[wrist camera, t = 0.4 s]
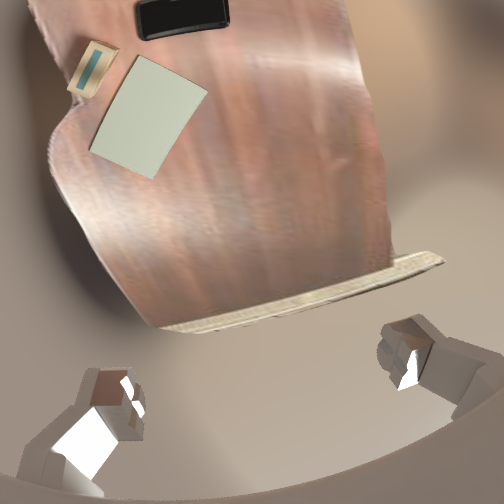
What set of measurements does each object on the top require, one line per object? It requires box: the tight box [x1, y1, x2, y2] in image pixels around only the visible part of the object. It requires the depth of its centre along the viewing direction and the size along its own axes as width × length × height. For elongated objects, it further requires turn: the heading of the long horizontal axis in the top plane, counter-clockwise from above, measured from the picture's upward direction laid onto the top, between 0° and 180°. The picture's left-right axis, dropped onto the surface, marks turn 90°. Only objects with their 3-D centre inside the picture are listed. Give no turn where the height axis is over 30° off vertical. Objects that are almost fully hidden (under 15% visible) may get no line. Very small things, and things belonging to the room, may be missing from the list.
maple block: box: [67, 41, 120, 99], centre depth 36 cm, size 9×4×5 cm, turn 144°
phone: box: [136, 0, 230, 41], centre depth 36 cm, size 8×1×15 cm
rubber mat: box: [90, 55, 208, 180], centre depth 47 cm, size 20×14×1 cm
